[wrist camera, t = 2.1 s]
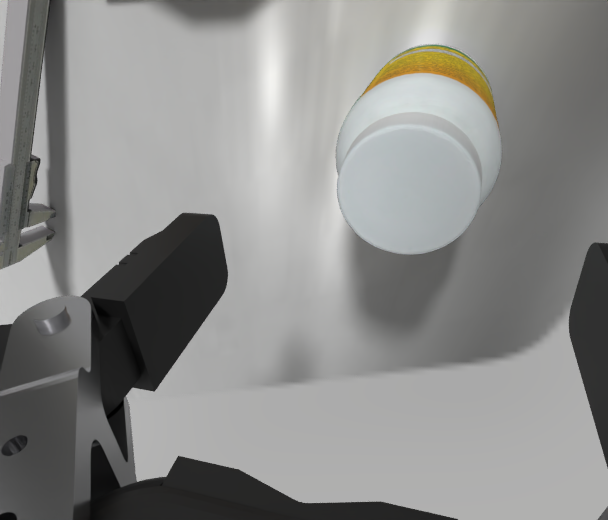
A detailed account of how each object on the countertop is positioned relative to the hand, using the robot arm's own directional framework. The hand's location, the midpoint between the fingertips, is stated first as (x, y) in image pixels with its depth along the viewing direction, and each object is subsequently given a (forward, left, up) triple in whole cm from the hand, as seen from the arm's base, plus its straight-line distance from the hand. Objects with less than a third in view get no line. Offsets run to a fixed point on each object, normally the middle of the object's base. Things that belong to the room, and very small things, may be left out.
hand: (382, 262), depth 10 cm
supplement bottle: (0, 0, -13) cm, 13 cm away
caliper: (+20, -1, -13) cm, 24 cm away
